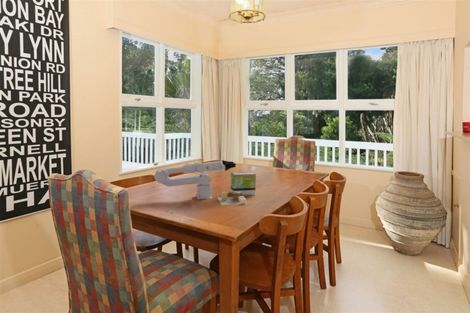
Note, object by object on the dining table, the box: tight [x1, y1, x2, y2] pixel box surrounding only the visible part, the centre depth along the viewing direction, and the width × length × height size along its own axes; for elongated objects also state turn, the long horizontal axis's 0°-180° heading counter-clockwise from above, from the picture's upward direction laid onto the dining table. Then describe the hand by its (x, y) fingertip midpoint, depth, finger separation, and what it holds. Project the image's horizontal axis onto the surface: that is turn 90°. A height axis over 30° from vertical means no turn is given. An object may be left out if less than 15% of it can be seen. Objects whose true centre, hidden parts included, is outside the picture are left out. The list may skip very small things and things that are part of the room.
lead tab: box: [221, 191, 228, 201], centre depth 197 cm, size 3×3×5 cm
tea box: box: [229, 171, 257, 196], centre depth 214 cm, size 15×10×15 cm, turn 105°
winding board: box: [217, 191, 249, 206], centre depth 196 cm, size 16×18×6 cm
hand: (234, 164), depth 205 cm, fingers open, 7 cm apart
